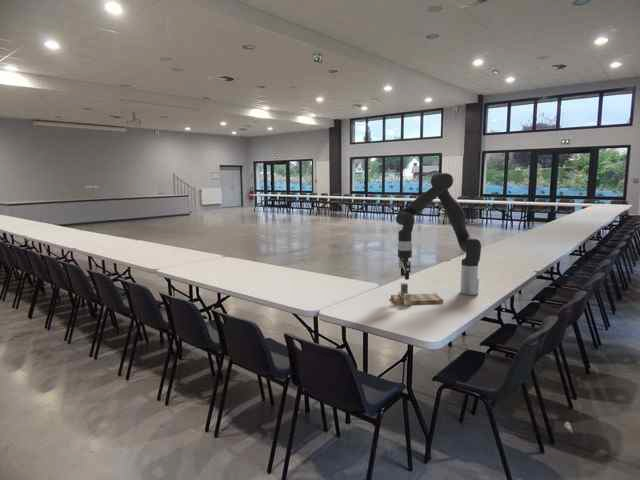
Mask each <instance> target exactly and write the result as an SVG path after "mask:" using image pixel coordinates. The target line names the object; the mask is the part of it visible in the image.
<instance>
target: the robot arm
mask: <svg viewBox="0 0 640 480" xmlns="http://www.w3.org/2000/svg"><path fill="white" fill-rule="evenodd" d="M430 184H431V188H429V189H428V190H426V191H425V192H424V193H421V194H420V195H419V196H418V197H416V198H415V199H414V200H413V202H411V203H410V204H409V205H408V206H406V207H405V208H403V209H402V210H400V211H399V212H398V213H397V214H396V216H395V221H396V223H397V224H398V225H400V226H402V229H399V230H398V233H397V236H398V238H397V239H398V242H397V257H398V258H399V266H398V267H399V269H400V276H401V277H404V280H407V281H408V280H410V273H411V264H412V263H411V261H410V260H409V259H411V258H412V257H413V242H412V235H413V234H412V232H413V228H414V224H415V216H418V215H420V214H421V213H422V211H424V210H425V208H427V207H428V206H429V205H430V204H431V203H432V202H433V201H434V200H436V198H438V199H439V202H440V203H441V206H442V207H443V210H444V212H445V214H446V217H447V219H448V221H449V223H450V225H451V227H452V229H453V232H454V234H455V236H456V240H457V243H458V245H459V247H460V250H461V251H462V252H463V253H465V258H463V259H461V269H460V294H462V295H467V296H474V295H475V296H476V295H479V289H480V288H479V286H480V284H479V283H480V278H479V263H480V260H481V252H482V244H481V242H480V240H479V239H477V238H475V237H471V236H470V234H469V232H468V230H467V222H466V221H467V219H466V218H467V217H466V214H465V211H464V208H463V207H462V205H461V204H460V203H459V202H458V201H457V199H456V198H454V197H453V196H452V194H451V193H450V191H449V189H450V188H452V186H453V185H454V177H453V176H452V175H451V174H450V173H449V172H442V173H435V174H433V175H432V176H431V179H430Z"/></svg>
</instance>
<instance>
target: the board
mask: <svg viewBox="0 0 640 480" xmlns="http://www.w3.org/2000/svg"><path fill="white" fill-rule="evenodd" d="M411 294H412V305H428V304H429V305H430V304H431V305H433V304H444V299H443V298H442V297H441V296H439V295H438V294H437V293H418V294H417V293H411ZM390 299H391V300H392V302H393V303H394V305H396V306H399V305H404V300H403V298H402V297H401V296H400V295H399V294H391V295H390ZM404 306H405V305H404Z"/></svg>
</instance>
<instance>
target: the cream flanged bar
mask: <svg viewBox="0 0 640 480" xmlns="http://www.w3.org/2000/svg"><path fill="white" fill-rule="evenodd" d="M408 288H409V285H408V283H403V282H402V283H400V290H398V294H397V295H400V296H401V297H402V298H403V300H404V306H412V305H413V304H412V294H413V293H409V291H408V290H409V289H408Z"/></svg>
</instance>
